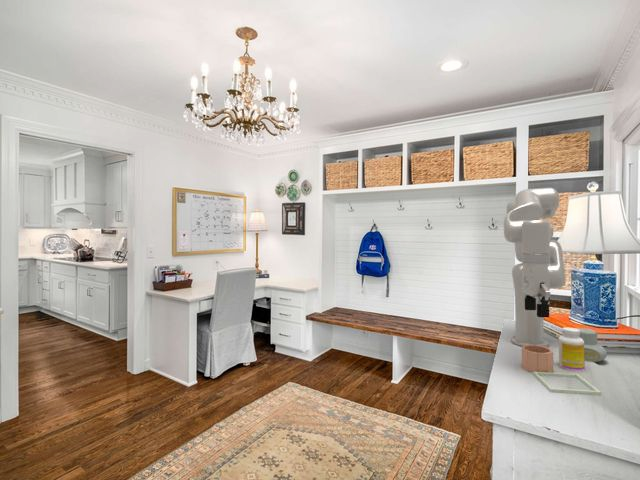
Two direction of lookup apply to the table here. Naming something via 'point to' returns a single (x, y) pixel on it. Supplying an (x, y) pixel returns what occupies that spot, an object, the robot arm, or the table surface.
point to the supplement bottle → (571, 350)
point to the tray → (589, 392)
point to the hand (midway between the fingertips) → (536, 313)
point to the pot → (537, 358)
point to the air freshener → (592, 346)
